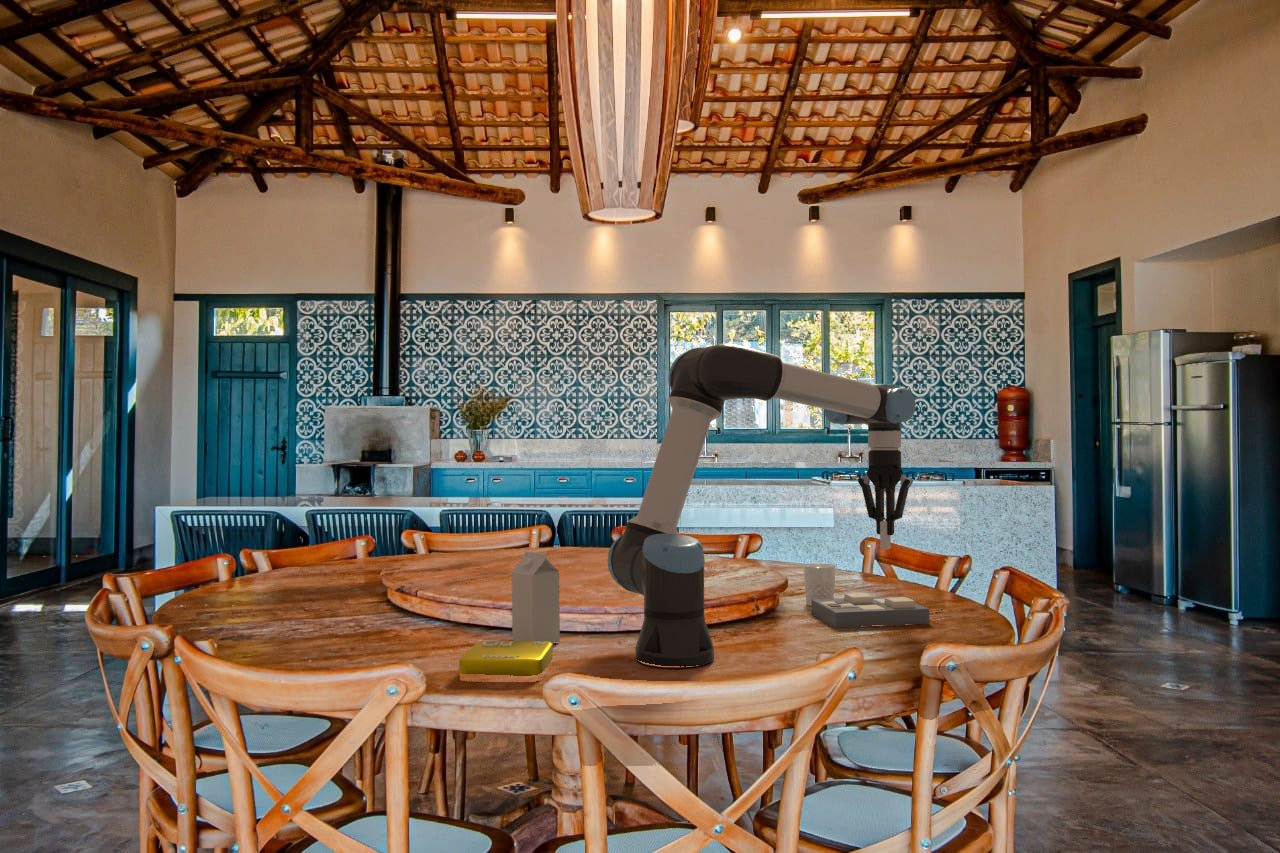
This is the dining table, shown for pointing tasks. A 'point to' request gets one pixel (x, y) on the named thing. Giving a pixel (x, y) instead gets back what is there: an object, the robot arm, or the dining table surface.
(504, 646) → the element tile
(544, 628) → the milk carton
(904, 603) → the button
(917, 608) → the board
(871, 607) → the button
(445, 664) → the dining table surface
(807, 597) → the white cup
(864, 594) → the button
